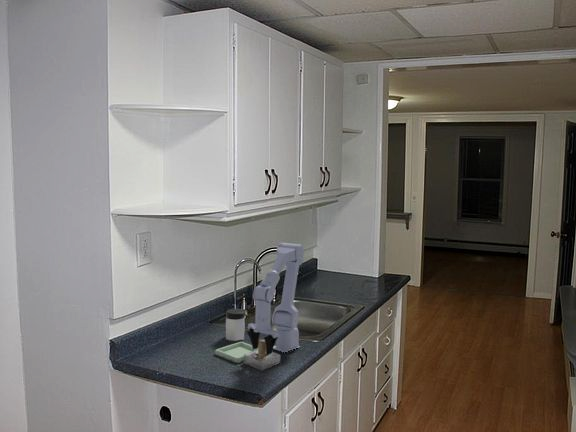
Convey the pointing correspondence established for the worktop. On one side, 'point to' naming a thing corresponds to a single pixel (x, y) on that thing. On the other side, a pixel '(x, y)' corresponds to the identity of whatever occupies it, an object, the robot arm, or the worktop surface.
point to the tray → (235, 351)
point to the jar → (235, 324)
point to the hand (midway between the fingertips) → (262, 351)
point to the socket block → (261, 360)
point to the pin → (261, 348)
